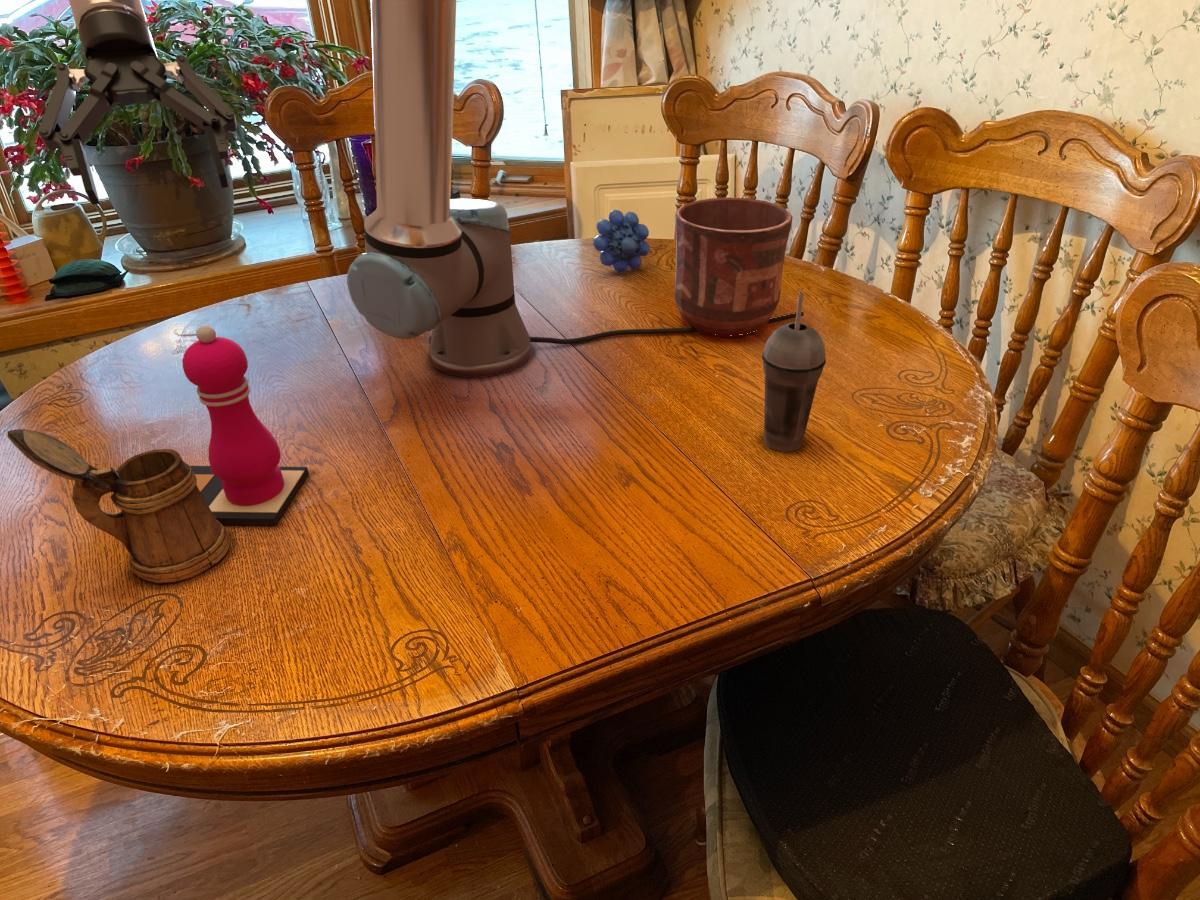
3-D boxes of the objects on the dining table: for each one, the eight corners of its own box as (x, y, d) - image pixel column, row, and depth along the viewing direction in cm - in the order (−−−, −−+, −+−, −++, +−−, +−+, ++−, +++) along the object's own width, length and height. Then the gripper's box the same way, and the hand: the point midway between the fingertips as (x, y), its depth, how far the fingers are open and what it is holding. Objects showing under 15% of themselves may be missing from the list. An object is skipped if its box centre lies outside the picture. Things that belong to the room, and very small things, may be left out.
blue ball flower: (604, 285, 142) (603, 219, 136) (588, 273, 147) (587, 210, 141) (660, 274, 146) (661, 210, 140) (642, 263, 151) (643, 201, 145)
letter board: (309, 473, 93) (307, 465, 92) (275, 526, 84) (273, 517, 84) (186, 472, 93) (184, 464, 93) (141, 524, 85) (138, 515, 84)
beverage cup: (816, 431, 98) (839, 279, 87) (809, 462, 92) (833, 304, 81) (758, 422, 100) (774, 273, 89) (748, 452, 94) (764, 296, 84)
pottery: (796, 315, 129) (810, 205, 119) (754, 356, 116) (766, 237, 107) (700, 295, 137) (705, 191, 127) (651, 331, 125) (653, 219, 115)
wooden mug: (82, 561, 80) (6, 410, 70) (222, 517, 86) (169, 371, 76) (86, 614, 73) (2, 455, 64) (237, 562, 79) (182, 409, 69)
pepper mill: (267, 512, 84) (213, 343, 74) (207, 505, 86) (147, 338, 75) (301, 475, 90) (256, 314, 79) (245, 468, 92) (194, 309, 81)
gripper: (230, 47, 100) (276, 192, 97) (3, 62, 91) (45, 223, 88) (223, 1, 93) (271, 156, 90) (-25, 12, 84) (20, 185, 81)
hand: (160, 189), depth 89 cm, fingers open, 13 cm apart
